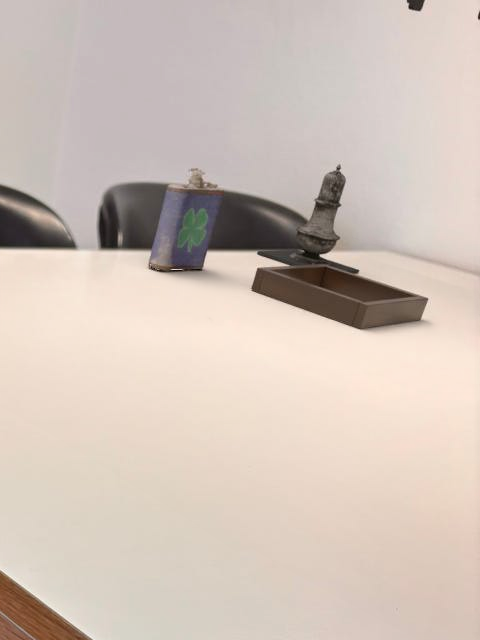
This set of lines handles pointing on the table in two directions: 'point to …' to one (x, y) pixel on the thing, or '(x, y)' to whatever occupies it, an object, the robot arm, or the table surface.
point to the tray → (339, 295)
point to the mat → (285, 258)
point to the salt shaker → (321, 221)
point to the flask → (186, 224)
